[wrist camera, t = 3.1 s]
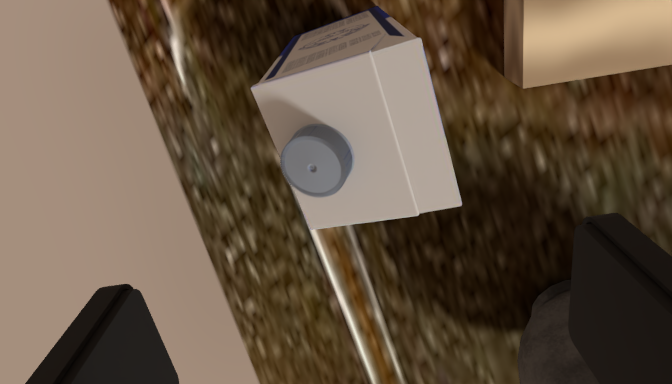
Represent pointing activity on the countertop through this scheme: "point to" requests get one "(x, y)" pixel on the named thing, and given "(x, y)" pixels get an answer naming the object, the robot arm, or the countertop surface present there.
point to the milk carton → (358, 123)
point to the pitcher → (551, 343)
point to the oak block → (583, 38)
